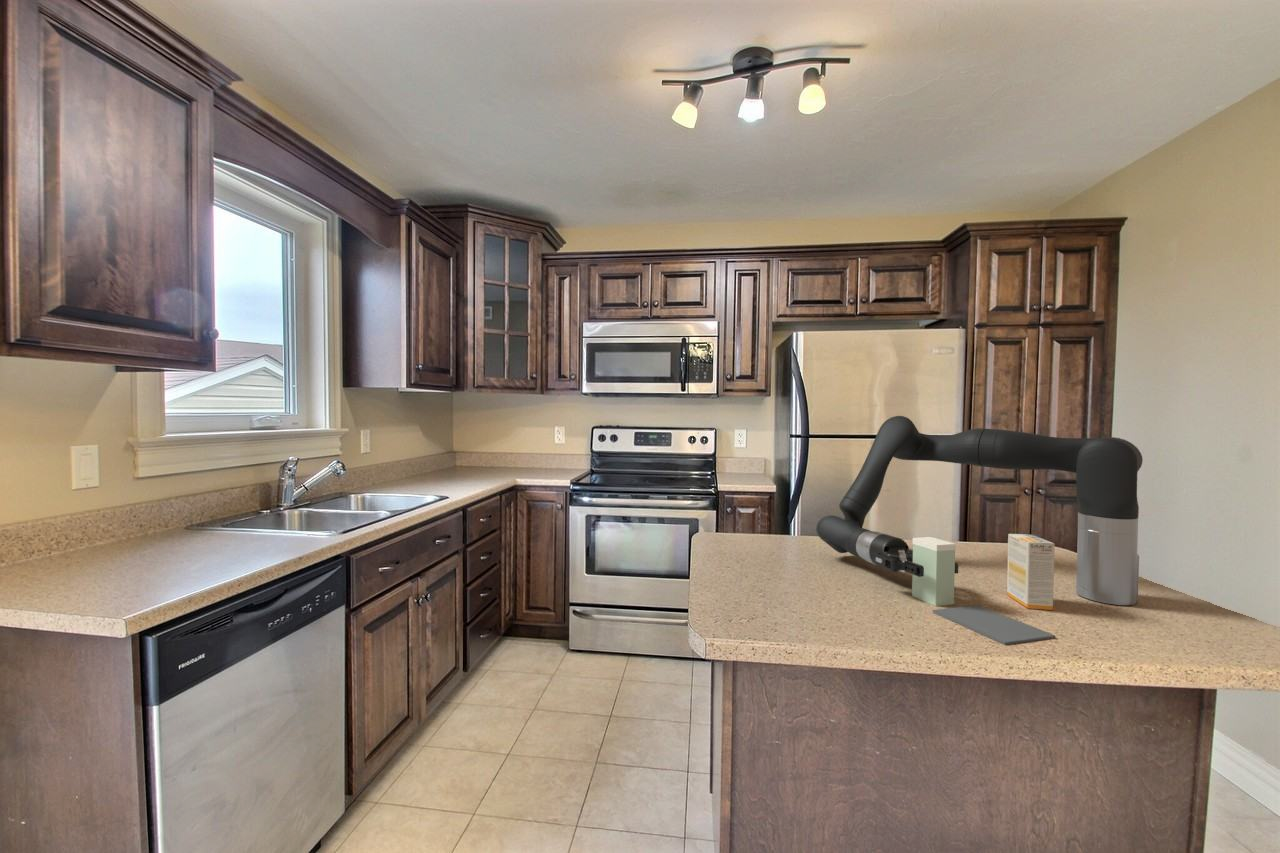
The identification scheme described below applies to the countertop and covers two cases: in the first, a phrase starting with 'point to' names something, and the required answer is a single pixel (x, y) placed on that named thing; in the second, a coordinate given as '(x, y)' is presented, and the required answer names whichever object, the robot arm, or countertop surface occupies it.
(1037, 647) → the countertop surface
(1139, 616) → the countertop surface
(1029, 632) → the mat
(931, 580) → the sage block
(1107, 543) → the robot arm
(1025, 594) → the supplement box
